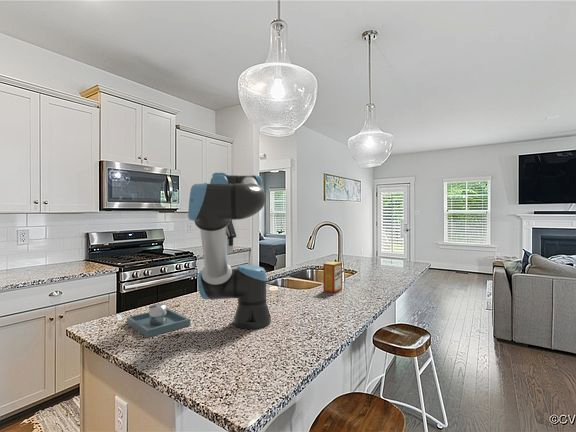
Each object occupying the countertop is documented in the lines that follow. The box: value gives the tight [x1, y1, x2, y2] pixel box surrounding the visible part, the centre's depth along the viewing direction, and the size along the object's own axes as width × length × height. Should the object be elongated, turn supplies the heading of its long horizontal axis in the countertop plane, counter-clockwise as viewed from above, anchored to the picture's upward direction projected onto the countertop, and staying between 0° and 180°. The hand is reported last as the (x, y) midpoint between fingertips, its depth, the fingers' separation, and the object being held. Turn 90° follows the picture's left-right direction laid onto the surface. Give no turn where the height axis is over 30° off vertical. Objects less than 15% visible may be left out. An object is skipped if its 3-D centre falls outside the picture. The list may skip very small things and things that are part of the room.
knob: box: [148, 303, 167, 326], centre depth 131 cm, size 6×6×7 cm
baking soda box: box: [322, 261, 343, 294], centre depth 183 cm, size 10×6×16 cm
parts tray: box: [126, 307, 191, 339], centre depth 132 cm, size 21×17×3 cm
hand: (221, 251), depth 151 cm, fingers open, 13 cm apart
